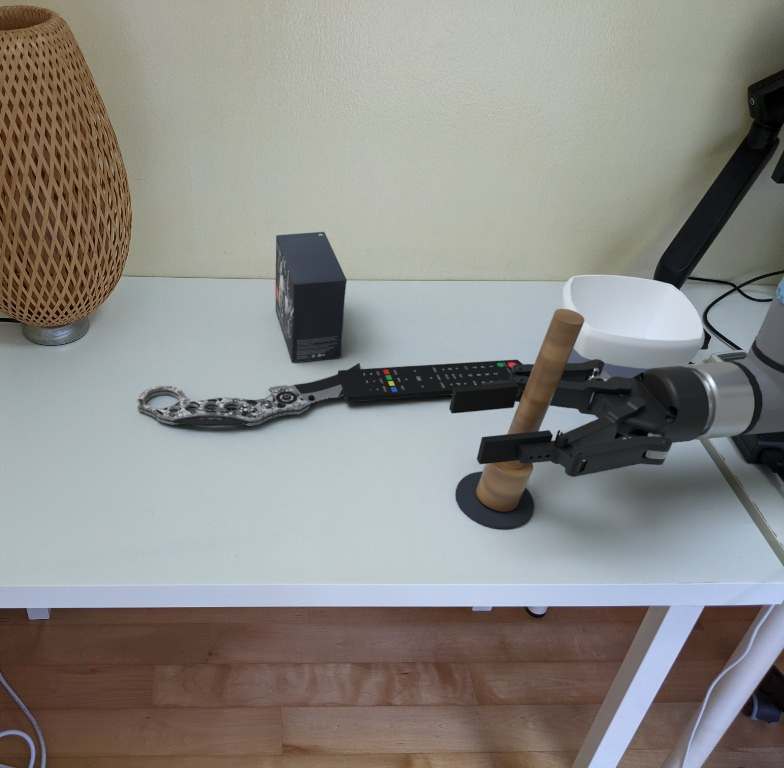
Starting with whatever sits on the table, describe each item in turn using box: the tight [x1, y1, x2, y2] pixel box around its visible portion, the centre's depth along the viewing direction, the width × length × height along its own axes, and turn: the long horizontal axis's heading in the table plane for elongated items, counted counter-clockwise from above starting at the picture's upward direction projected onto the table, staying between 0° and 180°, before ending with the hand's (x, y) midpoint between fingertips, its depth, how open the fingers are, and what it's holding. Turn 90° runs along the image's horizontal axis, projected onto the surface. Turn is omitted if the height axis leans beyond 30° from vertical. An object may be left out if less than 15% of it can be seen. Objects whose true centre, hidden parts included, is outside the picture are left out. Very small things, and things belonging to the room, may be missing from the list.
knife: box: [136, 362, 362, 427], centre depth 93 cm, size 28×2×10 cm
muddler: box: [476, 308, 584, 512], centre depth 74 cm, size 4×4×22 cm
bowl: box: [561, 274, 706, 403], centre depth 94 cm, size 15×15×11 cm
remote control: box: [337, 359, 523, 403], centre depth 95 cm, size 5×24×1 cm, turn 99°
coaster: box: [454, 470, 535, 530], centre depth 81 cm, size 8×8×1 cm
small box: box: [274, 231, 348, 363], centre depth 101 cm, size 13×7×12 cm, turn 10°
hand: (466, 424), depth 73 cm, fingers open, 7 cm apart
